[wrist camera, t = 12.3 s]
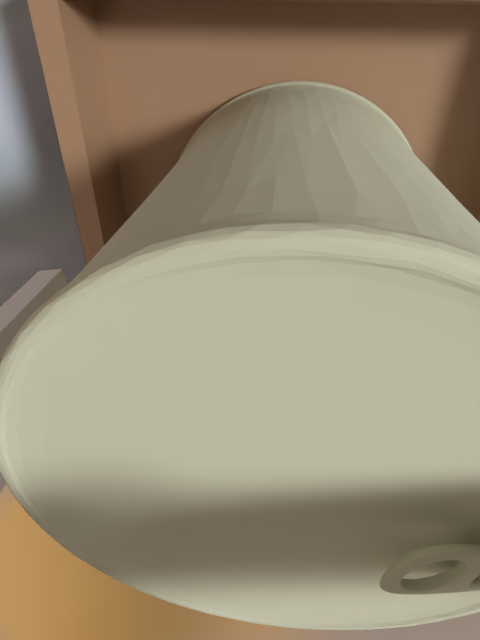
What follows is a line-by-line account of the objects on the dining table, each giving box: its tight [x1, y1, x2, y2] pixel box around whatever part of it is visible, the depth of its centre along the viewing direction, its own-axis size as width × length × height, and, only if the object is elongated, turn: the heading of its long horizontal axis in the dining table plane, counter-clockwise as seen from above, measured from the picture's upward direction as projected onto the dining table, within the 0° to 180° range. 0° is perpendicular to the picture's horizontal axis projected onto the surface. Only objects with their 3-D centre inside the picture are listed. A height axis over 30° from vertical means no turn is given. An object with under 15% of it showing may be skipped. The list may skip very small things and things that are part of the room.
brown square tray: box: [27, 0, 480, 265], centre depth 15 cm, size 15×15×3 cm
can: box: [0, 81, 480, 630], centre depth 11 cm, size 9×9×12 cm
